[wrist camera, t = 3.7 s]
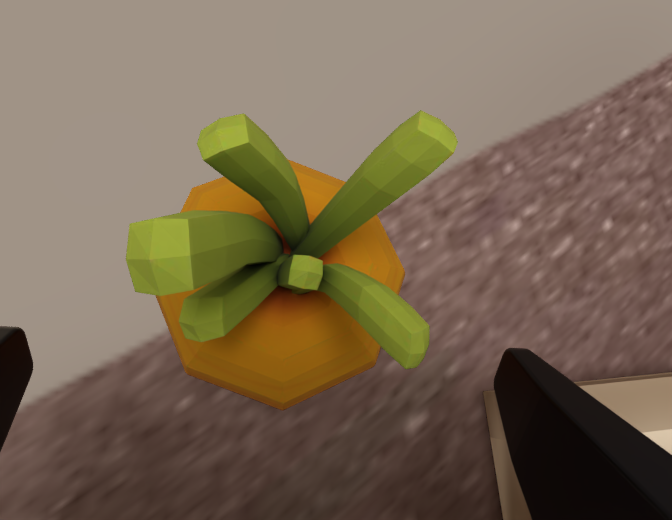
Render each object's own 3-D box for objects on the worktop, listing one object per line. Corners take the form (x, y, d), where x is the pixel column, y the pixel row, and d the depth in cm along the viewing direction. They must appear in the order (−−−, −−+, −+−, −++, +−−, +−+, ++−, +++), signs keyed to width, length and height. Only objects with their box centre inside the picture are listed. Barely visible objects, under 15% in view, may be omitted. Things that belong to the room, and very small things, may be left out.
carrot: (338, 270, 20) (494, -18, 6) (343, 394, 19) (557, 424, 5) (215, 271, 20) (46, -46, 5) (212, 401, 18) (-17, 455, 4)
